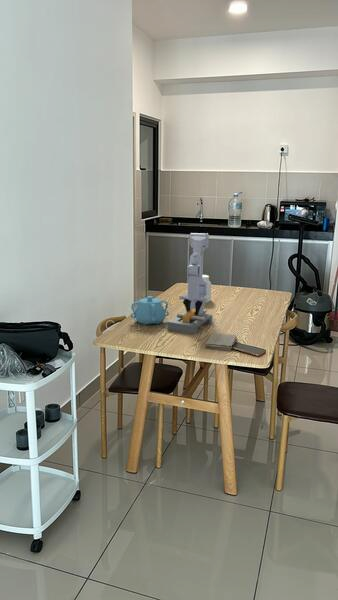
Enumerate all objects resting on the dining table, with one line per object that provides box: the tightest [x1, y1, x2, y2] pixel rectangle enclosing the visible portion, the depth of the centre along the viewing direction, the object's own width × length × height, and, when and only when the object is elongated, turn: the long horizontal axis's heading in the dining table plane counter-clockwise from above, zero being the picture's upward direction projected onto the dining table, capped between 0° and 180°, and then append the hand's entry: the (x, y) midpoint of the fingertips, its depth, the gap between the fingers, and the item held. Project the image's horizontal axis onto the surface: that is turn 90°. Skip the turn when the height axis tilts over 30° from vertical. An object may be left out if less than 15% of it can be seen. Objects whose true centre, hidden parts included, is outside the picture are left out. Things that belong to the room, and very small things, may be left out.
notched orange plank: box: [182, 309, 198, 323], centre depth 239 cm, size 12×3×5 cm, turn 154°
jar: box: [201, 274, 212, 303], centre depth 289 cm, size 12×10×15 cm
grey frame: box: [166, 310, 213, 335], centre depth 240 cm, size 15×22×6 cm
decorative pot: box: [130, 295, 170, 326], centre depth 244 cm, size 20×20×14 cm
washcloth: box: [205, 332, 237, 352], centre depth 215 cm, size 12×18×3 cm, turn 165°
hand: (192, 314), depth 242 cm, fingers open, 4 cm apart
